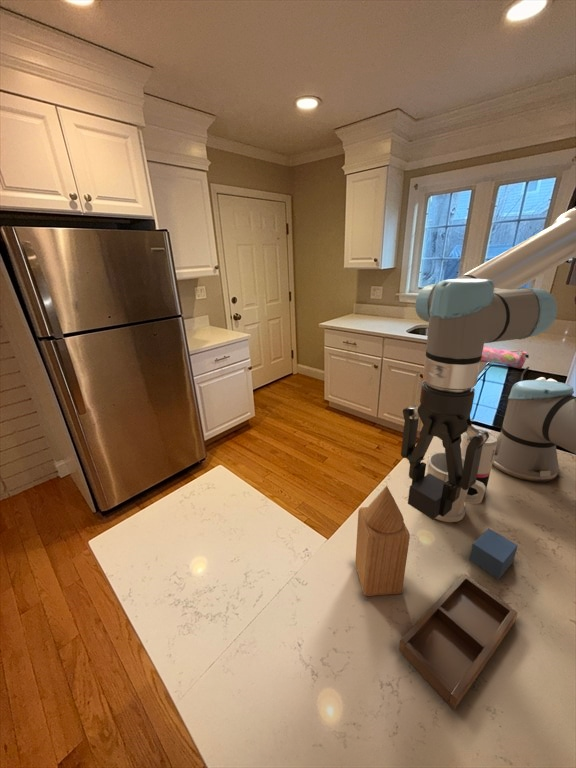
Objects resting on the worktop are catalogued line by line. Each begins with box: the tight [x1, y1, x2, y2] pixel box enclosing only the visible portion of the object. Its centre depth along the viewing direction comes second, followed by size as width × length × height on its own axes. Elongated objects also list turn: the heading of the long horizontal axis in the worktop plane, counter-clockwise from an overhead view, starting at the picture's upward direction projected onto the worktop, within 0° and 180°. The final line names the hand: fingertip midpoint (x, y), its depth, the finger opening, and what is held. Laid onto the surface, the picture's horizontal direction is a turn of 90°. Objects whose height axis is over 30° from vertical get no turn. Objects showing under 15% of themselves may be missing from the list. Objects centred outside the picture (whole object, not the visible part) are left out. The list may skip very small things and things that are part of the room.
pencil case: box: [480, 345, 530, 370], centre depth 161 cm, size 21×9×9 cm, turn 39°
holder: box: [398, 572, 519, 710], centre depth 47 cm, size 17×8×2 cm, turn 126°
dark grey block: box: [407, 473, 445, 521], centre depth 57 cm, size 6×5×4 cm
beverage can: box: [460, 428, 498, 496], centre depth 74 cm, size 6×7×15 cm
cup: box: [426, 451, 487, 523], centre depth 69 cm, size 10×9×12 cm
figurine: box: [535, 376, 558, 382], centre depth 130 cm, size 5×8×8 cm
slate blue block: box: [468, 527, 519, 580], centre depth 58 cm, size 6×5×4 cm
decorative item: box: [354, 485, 411, 597], centre depth 53 cm, size 7×7×20 cm
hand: (430, 502), depth 58 cm, fingers closed on dark grey block, 5 cm apart
